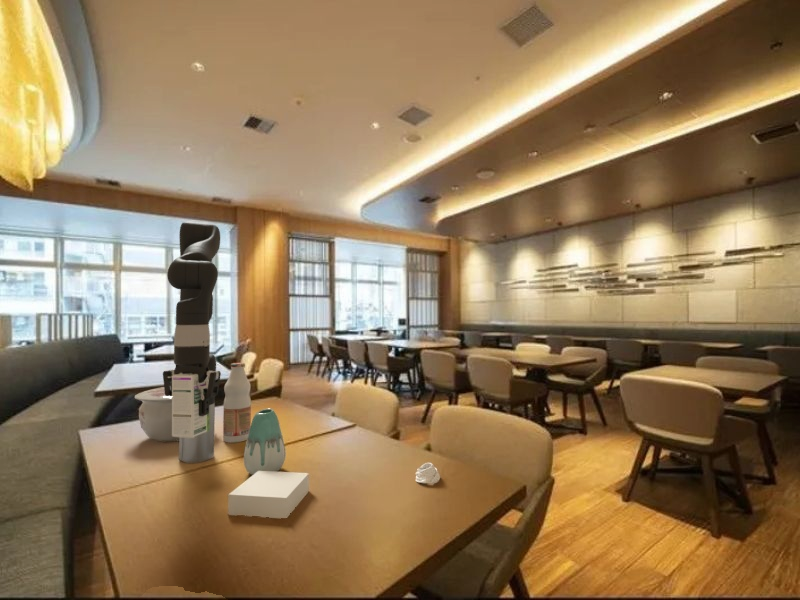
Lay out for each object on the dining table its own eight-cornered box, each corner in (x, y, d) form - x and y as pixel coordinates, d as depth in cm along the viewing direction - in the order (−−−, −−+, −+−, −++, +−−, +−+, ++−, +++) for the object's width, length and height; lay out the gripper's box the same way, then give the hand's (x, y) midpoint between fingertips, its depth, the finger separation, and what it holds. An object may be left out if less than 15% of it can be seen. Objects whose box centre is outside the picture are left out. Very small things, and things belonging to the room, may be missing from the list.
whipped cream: (435, 491, 104) (436, 473, 104) (410, 486, 106) (412, 468, 106) (441, 477, 112) (442, 460, 111) (418, 472, 114) (419, 456, 113)
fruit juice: (220, 444, 140) (221, 365, 141) (226, 436, 149) (227, 362, 150) (248, 442, 142) (249, 364, 143) (252, 434, 151) (253, 361, 152)
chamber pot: (157, 453, 131) (158, 390, 132) (118, 440, 145) (120, 383, 146) (232, 432, 155) (232, 379, 155) (192, 422, 169) (193, 374, 170)
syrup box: (192, 438, 90) (193, 374, 90) (170, 437, 91) (171, 374, 91) (209, 431, 95) (210, 371, 96) (188, 429, 96) (189, 370, 97)
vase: (245, 483, 107) (246, 417, 108) (241, 469, 117) (242, 408, 118) (289, 475, 112) (289, 412, 113) (281, 462, 123) (281, 404, 123)
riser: (228, 516, 90) (228, 494, 90) (258, 489, 104) (258, 470, 104) (286, 520, 88) (286, 497, 88) (308, 492, 102) (308, 473, 102)
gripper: (153, 344, 91) (151, 417, 91) (209, 345, 89) (208, 420, 88) (177, 342, 99) (175, 409, 98) (229, 342, 96) (228, 412, 96)
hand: (191, 414), depth 93 cm, fingers closed on syrup box, 6 cm apart
